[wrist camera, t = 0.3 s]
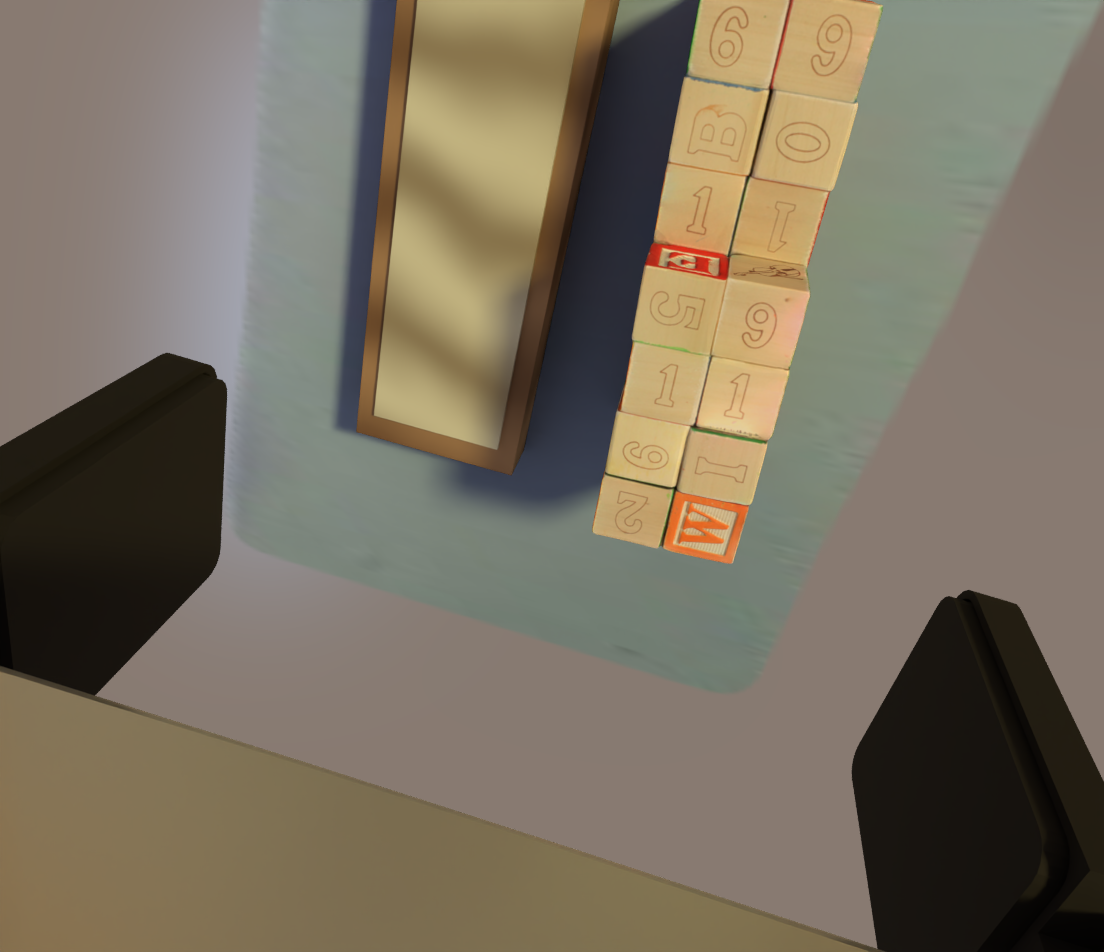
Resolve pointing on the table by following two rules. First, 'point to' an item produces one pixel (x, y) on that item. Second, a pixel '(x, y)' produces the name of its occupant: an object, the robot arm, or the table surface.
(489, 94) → the wooden tray
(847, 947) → the robot arm
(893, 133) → the table surface
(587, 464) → the table surface
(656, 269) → the stack of blocks
